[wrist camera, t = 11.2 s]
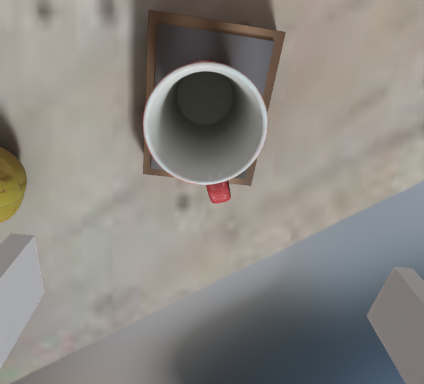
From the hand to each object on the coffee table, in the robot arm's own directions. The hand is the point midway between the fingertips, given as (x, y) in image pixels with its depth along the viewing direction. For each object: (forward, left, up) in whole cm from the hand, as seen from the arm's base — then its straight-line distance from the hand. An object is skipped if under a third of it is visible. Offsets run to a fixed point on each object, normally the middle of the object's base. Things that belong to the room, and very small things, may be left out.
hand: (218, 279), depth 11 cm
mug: (0, 0, -26) cm, 26 cm away
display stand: (0, 0, -30) cm, 31 cm away
